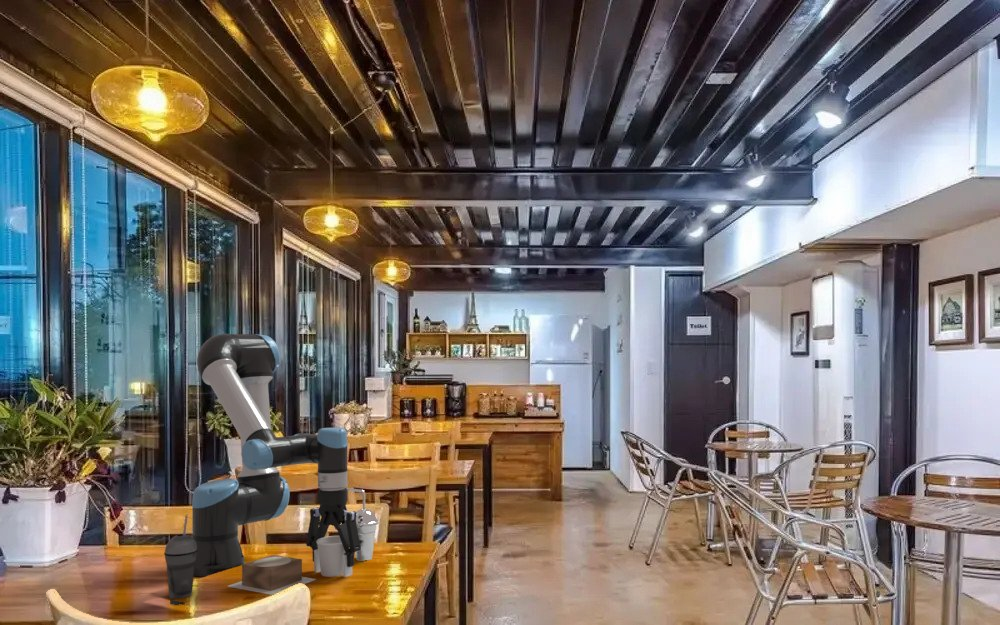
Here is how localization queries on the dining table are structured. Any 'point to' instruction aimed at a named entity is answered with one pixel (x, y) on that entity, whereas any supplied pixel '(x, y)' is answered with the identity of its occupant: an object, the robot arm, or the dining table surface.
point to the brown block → (271, 572)
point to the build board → (239, 585)
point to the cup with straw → (365, 530)
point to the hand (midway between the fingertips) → (333, 577)
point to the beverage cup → (180, 565)
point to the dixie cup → (330, 556)
